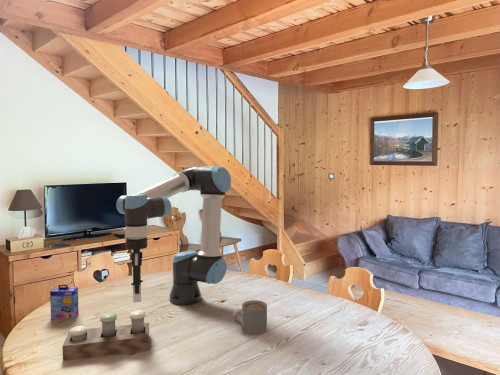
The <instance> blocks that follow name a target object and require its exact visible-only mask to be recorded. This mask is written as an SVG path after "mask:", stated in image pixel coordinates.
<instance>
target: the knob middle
mask: <svg viewBox="0 0 500 375" xmlns="http://www.w3.org/2000/svg"><path fill="white" fill-rule="evenodd" d="M117 319H118V315H117V313H116V312H107V313H104V314H101V315H100V316H99V320H100V322H101V327H102V337H111V336H114V335H115V326H116V320H117Z"/></svg>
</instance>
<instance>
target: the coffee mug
mask: <svg viewBox="0 0 500 375" xmlns="http://www.w3.org/2000/svg"><path fill="white" fill-rule="evenodd" d="M238 314H241V318H240V319H237V315H238ZM232 319H233V322H234V323H235V324H237V325H239V326H241V330H242V332H243V333H244V334H247V335H250V336H251V335H252V336H257V335H262V334H265V333H266V332H267V330H268V304H267V303H266V302H265V301H262V300H255V299H254V300H253V299H251V300H247V301H246V300H245V301H244V302H243V303H242V304H241V308H237V309H235V310H234V311H233V315H232Z"/></svg>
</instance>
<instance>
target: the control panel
mask: <svg viewBox="0 0 500 375" xmlns="http://www.w3.org/2000/svg"><path fill="white" fill-rule="evenodd" d="M85 337H86V339H83V340H73V341H72V336H71V335H70V330H69V331H68V334H66V337H65V339H64V342H63V344H62V347H61V348H62V361H71V360H80V359H88V358H94V357H95V358H96V357H103V356H105V357H106V356H113V355H120V354H131V353H137V352H138V353H139V352H146V351H148V352H149V351H150V322H144V332H143V333H139V334H132V323H131V324H124V325H123V324H121V325H115V335H114V336H111V337H102V326H101V327H92V328H87V333H85Z"/></svg>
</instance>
